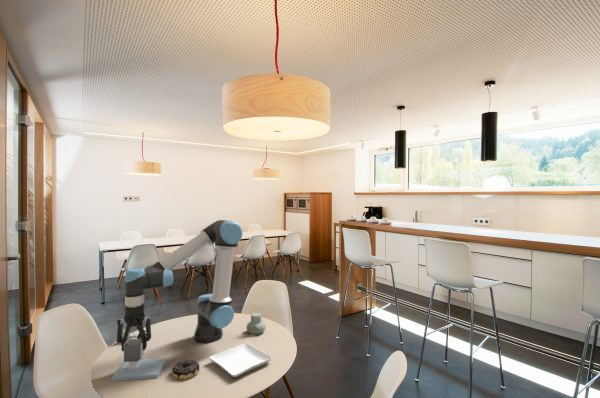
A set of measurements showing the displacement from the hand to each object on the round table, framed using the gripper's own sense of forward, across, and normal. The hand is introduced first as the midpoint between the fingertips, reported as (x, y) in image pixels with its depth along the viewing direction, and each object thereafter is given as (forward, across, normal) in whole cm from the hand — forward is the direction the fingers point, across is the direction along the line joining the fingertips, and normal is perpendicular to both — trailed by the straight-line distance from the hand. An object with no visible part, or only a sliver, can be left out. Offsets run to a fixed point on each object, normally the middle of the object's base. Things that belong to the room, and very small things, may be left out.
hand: (134, 357), depth 134 cm
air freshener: (+6, -53, -34) cm, 63 cm away
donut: (+6, -23, +5) cm, 24 cm away
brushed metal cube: (0, 0, 0) cm, 0 cm away
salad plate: (+6, -46, 0) cm, 46 cm away
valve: (+6, +12, -30) cm, 33 cm away
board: (+6, -3, 0) cm, 7 cm away
